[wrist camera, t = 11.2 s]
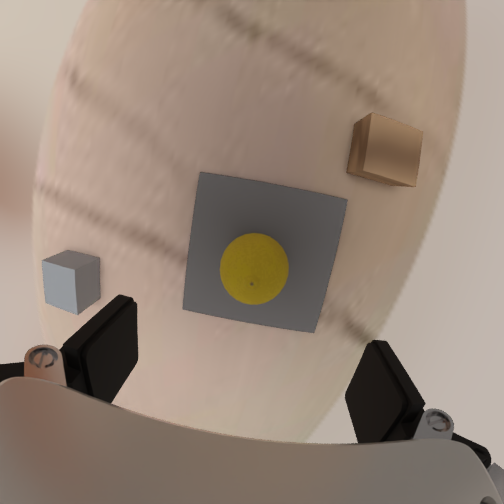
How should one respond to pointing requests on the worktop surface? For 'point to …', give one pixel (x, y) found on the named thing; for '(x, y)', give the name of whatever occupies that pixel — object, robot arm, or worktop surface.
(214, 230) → the mat
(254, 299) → the lemon
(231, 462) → the robot arm
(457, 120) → the worktop surface
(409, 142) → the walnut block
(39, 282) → the worktop surface
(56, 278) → the slate block
